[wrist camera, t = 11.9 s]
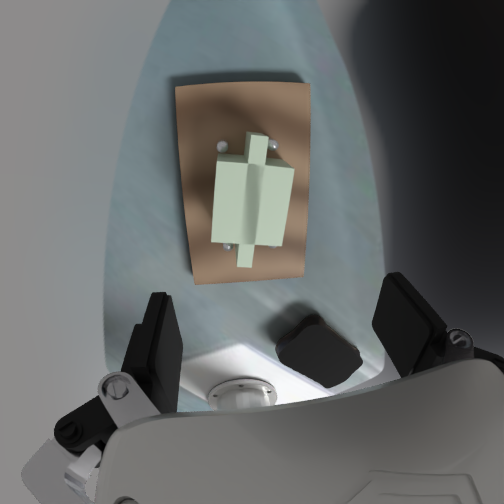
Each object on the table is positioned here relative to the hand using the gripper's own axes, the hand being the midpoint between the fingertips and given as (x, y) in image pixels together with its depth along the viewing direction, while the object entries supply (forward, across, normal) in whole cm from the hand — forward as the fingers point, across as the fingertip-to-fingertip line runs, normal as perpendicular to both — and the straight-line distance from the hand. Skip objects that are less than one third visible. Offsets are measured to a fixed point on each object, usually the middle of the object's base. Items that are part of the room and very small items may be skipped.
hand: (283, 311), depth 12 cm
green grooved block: (+19, 0, 0) cm, 19 cm away
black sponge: (+21, -11, +26) cm, 35 cm away
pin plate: (+20, 0, 0) cm, 20 cm away
